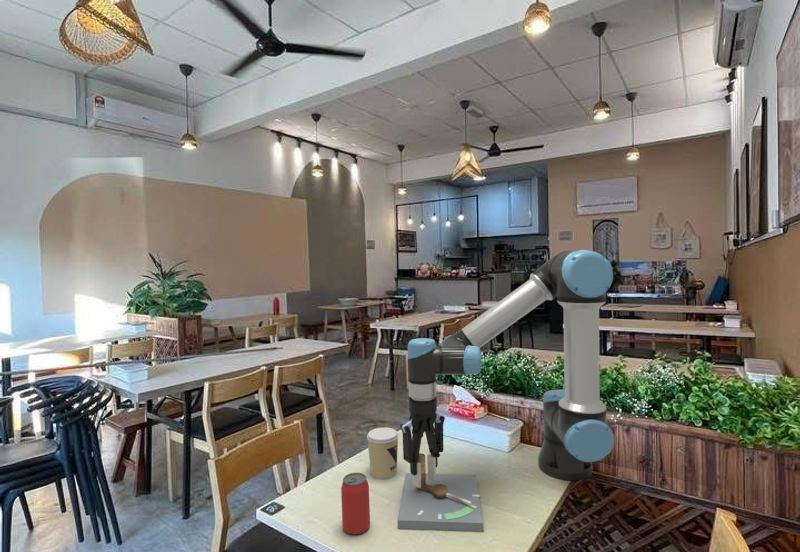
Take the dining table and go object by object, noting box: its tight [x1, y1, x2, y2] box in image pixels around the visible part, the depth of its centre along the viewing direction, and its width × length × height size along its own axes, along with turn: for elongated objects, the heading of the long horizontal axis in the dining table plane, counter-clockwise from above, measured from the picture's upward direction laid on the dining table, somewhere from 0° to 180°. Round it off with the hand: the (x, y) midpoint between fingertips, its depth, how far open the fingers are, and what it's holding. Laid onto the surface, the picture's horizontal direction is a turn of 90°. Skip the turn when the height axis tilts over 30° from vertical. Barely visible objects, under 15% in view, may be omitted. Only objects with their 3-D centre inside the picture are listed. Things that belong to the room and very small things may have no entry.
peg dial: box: [417, 452, 472, 505], centre depth 110 cm, size 16×4×9 cm, turn 52°
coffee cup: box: [366, 427, 399, 480], centre depth 127 cm, size 9×9×12 cm
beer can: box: [340, 472, 371, 535], centre depth 101 cm, size 7×7×12 cm
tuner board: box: [397, 472, 484, 532], centre depth 110 cm, size 20×22×2 cm
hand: (424, 482), depth 114 cm, fingers open, 4 cm apart
